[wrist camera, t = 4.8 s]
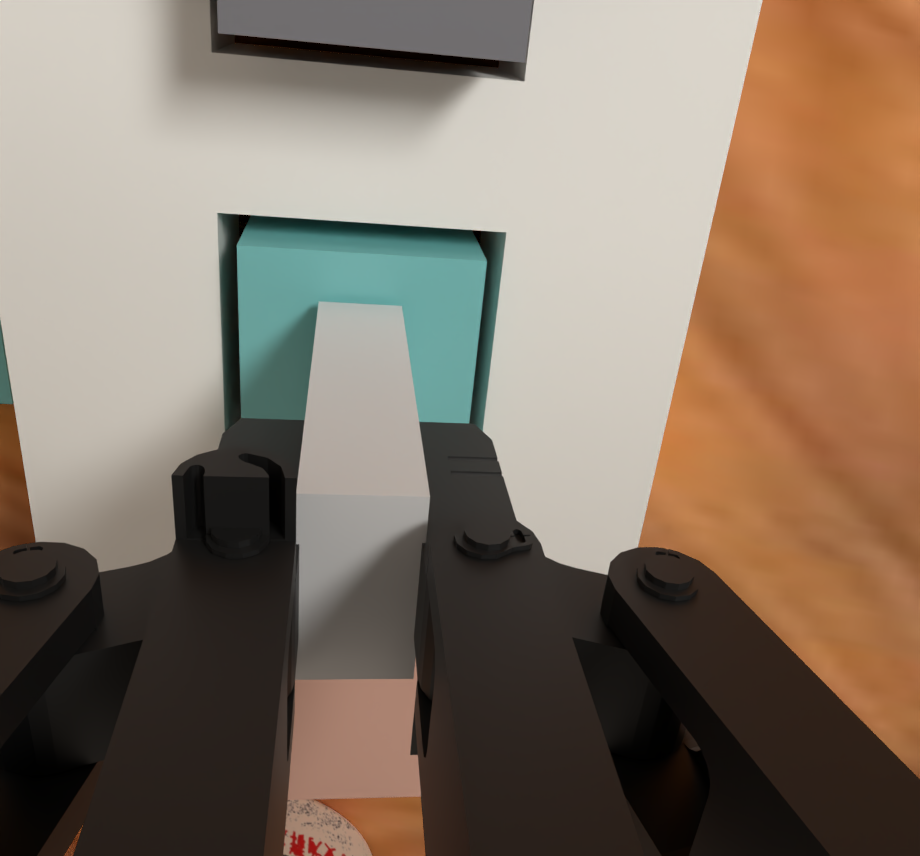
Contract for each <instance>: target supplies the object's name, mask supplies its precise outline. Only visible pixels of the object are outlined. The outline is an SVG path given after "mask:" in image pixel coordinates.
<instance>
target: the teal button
mask: <svg viewBox="0 0 920 856" xmlns="http://www.w3.org/2000/svg"><path fill="white" fill-rule="evenodd" d="M486 267H487V260H486V258H485V256H484V254H483V252H482V249H481V247H480V245H479V243H478V241H477V239H476V237H475V235H474V233H473V231H472V230H463V229H449V228H434V227H419V226H404V225H390V224H375V223H360V222H345V221H330V220H316V219H301V218H286V217H271V216H257V215H251V216H250V218H249V221H248V223H247V225H246V227H245V229H244V231H243V233H242V235H241V238H240V240H239V242H238V244H237V274H238V313H239V353H240V393H241V418H256V419H285V420H305V413H306V405H307V396H308V388H309V379H310V371H311V362H312V354H313V346H314V337H315V329H316V320H317V312H318V303H319V301H320V302H339V303H357V304H376V305H394V306H402V310H403V317H404V324H405V331H406V337H407V344H408V351H409V358H410V364H411V371H412V378H413V385H414V391H415V398H416V405H417V412H418V418H419V422H442V423H469V421H470V411H471V402H472V393H473V384H474V375H475V366H476V357H477V348H478V339H479V330H480V321H481V312H482V303H483V294H484V285H485V276H486Z"/></svg>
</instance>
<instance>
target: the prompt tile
mask: <svg viewBox="0 0 920 856" xmlns="http://www.w3.org/2000/svg"><path fill="white" fill-rule="evenodd" d="M13 403H14V402H13V396H12V389H11V383H10V377H9V370H8V364H7V358H6V352H5V345H4V339H3V333H2V326H1V320H0V404H13Z"/></svg>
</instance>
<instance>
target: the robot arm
mask: <svg viewBox="0 0 920 856" xmlns="http://www.w3.org/2000/svg"><path fill="white" fill-rule="evenodd" d="M171 479H172V493H173V507H174V522H175V536H176V540H175V543H174V546H173V549H172V552H170V553H168V554H167V555H165V556H162V557H160V558H157V559H155V560H152V561H150V562H146V563H142V564H138V565H134V566H130V567H125V568H119V569H114V570H109V571H103V572H99V569H98V564H97V559H96V558H94V557H93V556H92V555H91V554H90V553H89V552H88V551H86V550H85V549H84V548H80V547H77V546H74V545H71V544H67V543H60V542H36V543H30V544H22V545H17V546H13V547H10V548H7V549H5V550H2V551H0V856H64V854H65V853H66V851H67V849H68V848H69V846H70V845H71V843H72V841H73V840H74V838H75V836H76V835H77V833H78V832H79V830H80V828H81V827H82V825H83V827H82V830H81V833H80V836H79V840H78V843H77V846H76V849H75V852H74V855H73V856H283V850H284V838H285V826H286V813H287V801H288V789H289V776H290V764H291V751H292V739H293V727H294V714H295V680H333V679H414V668H415V657H416V668H417V686H416V697H415V707H414V718H413V728H412V739H411V750H410V755H418V764H419V777H420V789H421V802H422V815H423V828H424V840H425V853H426V856H920V779H919V778H918V777H917V776H916V775H915V774H914V773H913V772H912V771H911V770H910V769H909V768H908V767H907V766H906V765H905V764H904V763H903V762H902V761H901V760H900V759H899V758H898V757H897V756H896V755H895V754H894V753H893V752H892V751H891V750H890V749H889V748H888V747H887V746H886V745H885V744H884V743H883V742H882V741H881V740H880V739H879V738H878V737H877V736H876V735H875V734H874V733H873V732H872V731H871V730H870V729H869V728H868V727H867V726H866V725H865V724H864V723H863V722H862V721H861V720H860V719H859V718H858V717H857V716H856V715H855V714H854V713H853V712H852V711H851V710H850V709H849V708H848V707H847V706H846V705H845V704H844V703H843V702H842V701H841V700H840V699H839V698H838V697H837V695H836V694H835V693H834V692H833V691H832V690H831V689H830V688H829V687H828V686H827V685H826V684H825V683H824V682H823V681H822V680H821V679H820V678H819V677H818V676H817V675H816V674H815V673H814V672H813V671H812V670H811V669H810V668H809V667H808V666H807V665H806V664H805V663H804V662H803V661H802V660H801V659H800V658H799V657H798V656H797V655H796V654H795V653H794V652H793V651H792V650H791V649H790V648H789V647H788V646H787V645H786V644H785V643H784V642H783V641H782V640H781V639H780V638H779V637H778V636H777V635H776V634H775V633H774V632H773V631H772V630H771V629H770V628H769V627H768V626H767V625H766V624H765V623H764V622H763V621H762V620H761V619H760V618H759V617H758V616H757V615H756V614H755V613H754V612H753V611H752V610H751V609H750V608H749V607H748V606H747V605H746V604H745V603H744V602H743V601H742V600H741V599H740V598H739V597H738V596H737V595H736V594H735V593H734V592H733V591H732V590H731V589H730V588H729V587H728V586H727V585H726V584H725V583H724V582H723V581H722V580H721V579H720V578H719V576H718V575H717V574H716V573H714V572H713V571H712V570H710V569H709V568H708V567H706V566H705V565H704V564H702V563H701V562H700V561H698V560H696V559H694V558H691V557H689V556H687V555H684V554H682V553H680V552H677V551H673V550H670V549H669V550H667V549H664V548H658V547H644V548H634V549H630V550H627V551H624V552H621V553H619V554H618V555H617V556H616V557H615V558H614V559H613V560H612V561H611V562H610V565H609V570H608V575H606V574H601V573H597V572H592V571H587V570H583V569H578V568H574V567H571V566H567V565H564V564H561V563H558V562H556V561H554V560H552V559H549V558H547V557H545V555H544V552H543V549H542V546H541V543H540V542H539V540H538V539H537V537H536V536H535V534H534V533H533V531H531V530H530V529H528V528H527V527H525V526H524V525H523V524H521V523H520V522H518V521H517V520H516V517H515V514H514V510H513V507H512V504H511V500H510V497H509V494H508V491H507V487H506V484H505V481H504V477H503V476H502V471H501V468H500V464H499V461H497V455H496V451H495V448H494V445H493V441H492V439H491V438H490V437H488V436H487V435H486V434H485V433H484V432H483V431H482V430H481V429H479V428H478V427H477V426H476V425H475V424H470V423H442V422H419V418H418V412H417V405H416V398H415V391H414V385H413V378H412V371H411V364H410V358H409V351H408V344H407V337H406V331H405V324H404V317H403V310H402V306H394V305H376V304H357V303H339V302H320V301H319V303H318V312H317V320H316V329H315V337H314V346H313V354H312V362H311V371H310V379H309V388H308V396H307V405H306V413H305V420H285V419H256V418H241V419H240V420H239V421H237V422H236V423H235V424H234V425H233V426H231V427H230V428H229V429H228V430H226V431H225V432H224V433H223V434H222V437H221V441H220V444H219V447H218V449H217V450H213V451H209V452H205V453H202V454H198V455H196V456H194V457H192V458H190V459H188V460H186V461H185V462H183V463H181V464H180V465H179V466H178V467H177V469H176V470H175V471H174V472H173V474H172V475H171ZM83 823H84V824H83Z"/></svg>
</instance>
